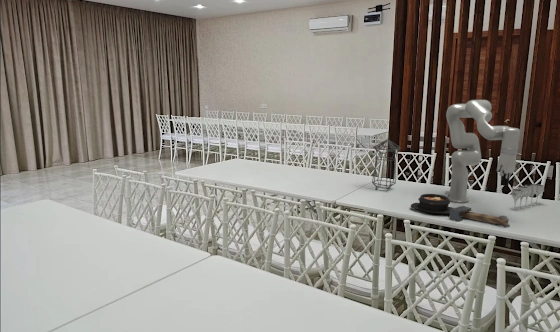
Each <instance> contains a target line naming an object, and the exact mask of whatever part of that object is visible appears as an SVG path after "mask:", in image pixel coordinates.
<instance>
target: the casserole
mask: <svg viewBox="0 0 560 332" xmlns="http://www.w3.org/2000/svg"><path fill="white" fill-rule="evenodd" d="M418 201H419V202H413V203H411V204H410V207H411V208H412V209H416V210H419V211H422V212H424V213H428V214H432V215H441V214H447V215H450V209H453V208H454V207H453V206H449V204H451V201H449V199H448V196H445V195H441V194H438V193H423V194H421V195H420V197H418Z"/></svg>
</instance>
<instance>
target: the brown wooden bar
mask: <svg viewBox="0 0 560 332" xmlns="http://www.w3.org/2000/svg"><path fill="white" fill-rule="evenodd" d="M461 218H465V219H471V220H476V221H481V222H485V223H490V224H494V225H495V224H499V225H504V226H506V225H507V224H509V222H510V220H509V218H508V216H506V215H498V216H496V215H491V214H490V215H489V214H485V213H479V212H474V211H469V212H465V213H462V217H461Z"/></svg>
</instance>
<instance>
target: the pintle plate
mask: <svg viewBox="0 0 560 332" xmlns="http://www.w3.org/2000/svg"><path fill="white" fill-rule="evenodd" d="M494 225H495V226H496V227H500V228H510V227H511V225H510V224H509V223H508V224H507V225H506V226H504V225H499V224H494Z"/></svg>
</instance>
